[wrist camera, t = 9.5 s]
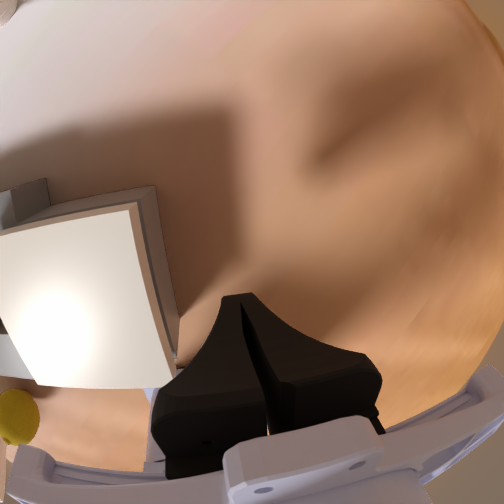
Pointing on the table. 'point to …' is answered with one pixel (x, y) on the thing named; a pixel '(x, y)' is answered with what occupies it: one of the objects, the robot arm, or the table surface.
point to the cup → (2, 468)
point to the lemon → (18, 417)
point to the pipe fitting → (7, 10)
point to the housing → (38, 208)
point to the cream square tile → (84, 301)
